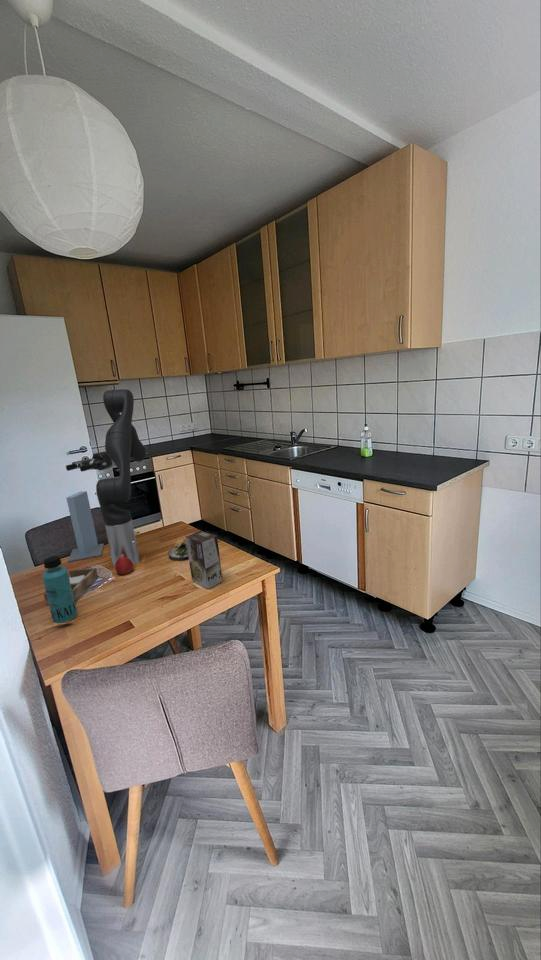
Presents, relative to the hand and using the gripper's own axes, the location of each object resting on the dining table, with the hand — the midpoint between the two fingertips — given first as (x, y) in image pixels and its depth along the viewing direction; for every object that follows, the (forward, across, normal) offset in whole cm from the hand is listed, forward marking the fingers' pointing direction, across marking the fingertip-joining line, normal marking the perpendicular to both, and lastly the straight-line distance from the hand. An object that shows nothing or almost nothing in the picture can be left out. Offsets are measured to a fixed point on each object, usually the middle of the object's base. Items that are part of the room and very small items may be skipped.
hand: (73, 468), depth 153 cm
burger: (-7, +45, +34) cm, 57 cm away
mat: (+5, +4, +34) cm, 35 cm away
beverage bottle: (+40, +40, +34) cm, 66 cm away
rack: (+29, +28, +34) cm, 53 cm away
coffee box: (+7, +66, +34) cm, 75 cm away
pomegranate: (+14, +35, +34) cm, 51 cm away
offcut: (+26, +26, +33) cm, 49 cm away
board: (+4, +4, +33) cm, 34 cm away
